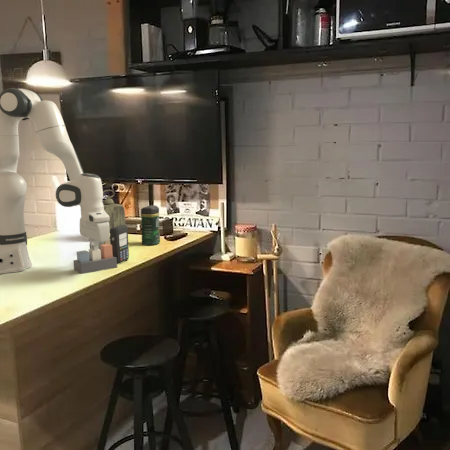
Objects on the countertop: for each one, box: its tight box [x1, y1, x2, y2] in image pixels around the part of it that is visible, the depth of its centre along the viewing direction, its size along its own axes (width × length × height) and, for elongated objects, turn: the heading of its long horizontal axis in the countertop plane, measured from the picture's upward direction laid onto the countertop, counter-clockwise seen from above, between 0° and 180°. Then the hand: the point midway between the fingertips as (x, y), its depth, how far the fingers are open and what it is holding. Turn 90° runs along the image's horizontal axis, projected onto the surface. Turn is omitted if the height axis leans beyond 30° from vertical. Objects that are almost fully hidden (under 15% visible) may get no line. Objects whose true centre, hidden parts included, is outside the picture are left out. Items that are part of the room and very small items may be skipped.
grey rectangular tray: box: [73, 257, 118, 275], centre depth 220 cm, size 15×8×4 cm, turn 127°
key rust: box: [100, 244, 113, 259], centre depth 222 cm, size 4×4×6 cm
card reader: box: [109, 224, 130, 265], centre depth 230 cm, size 9×4×15 cm, turn 160°
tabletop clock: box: [103, 189, 126, 234], centre depth 279 cm, size 14×9×25 cm, turn 133°
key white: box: [88, 248, 101, 261], centre depth 219 cm, size 4×4×6 cm
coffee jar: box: [140, 204, 161, 246], centre depth 265 cm, size 10×8×19 cm
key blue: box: [76, 250, 89, 263], centre depth 216 cm, size 4×4×6 cm
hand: (94, 249), depth 219 cm, fingers closed, pressing on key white
